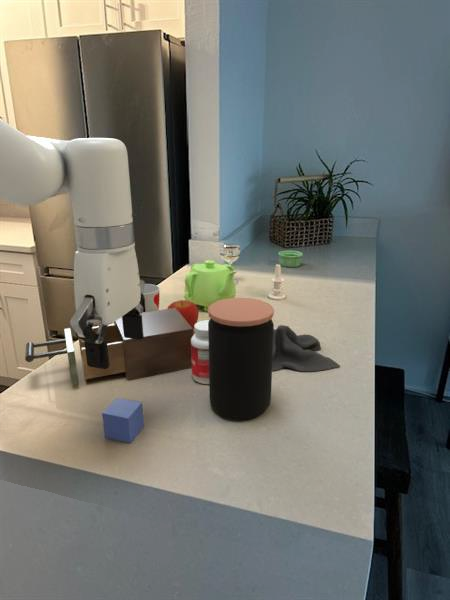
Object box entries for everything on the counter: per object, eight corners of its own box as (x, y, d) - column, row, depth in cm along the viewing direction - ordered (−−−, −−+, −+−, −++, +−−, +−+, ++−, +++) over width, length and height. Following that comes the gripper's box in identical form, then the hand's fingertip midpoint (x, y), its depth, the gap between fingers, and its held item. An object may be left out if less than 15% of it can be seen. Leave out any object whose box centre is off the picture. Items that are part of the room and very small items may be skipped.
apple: (165, 337, 101) (163, 306, 99) (169, 324, 109) (167, 295, 106) (197, 337, 101) (197, 306, 98) (200, 324, 108) (199, 295, 106)
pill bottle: (195, 368, 87) (194, 317, 84) (225, 370, 87) (225, 319, 83) (188, 384, 82) (186, 330, 78) (220, 386, 81) (220, 332, 77)
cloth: (226, 366, 88) (226, 339, 86) (246, 331, 105) (247, 307, 103) (339, 381, 82) (342, 352, 80) (341, 341, 99) (343, 316, 97)
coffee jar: (277, 394, 78) (281, 301, 72) (259, 428, 69) (262, 325, 63) (223, 383, 82) (222, 294, 76) (199, 414, 72) (196, 315, 66)
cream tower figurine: (285, 294, 130) (287, 260, 126) (286, 300, 125) (287, 265, 122) (268, 293, 131) (269, 260, 127) (268, 299, 126) (269, 265, 122)
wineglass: (216, 281, 143) (215, 245, 139) (233, 277, 146) (233, 243, 142) (227, 286, 137) (227, 249, 133) (244, 282, 141) (245, 246, 137)
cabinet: (127, 380, 83) (123, 340, 80) (117, 353, 94) (113, 316, 91) (194, 367, 88) (193, 328, 85) (177, 342, 99) (175, 307, 96)
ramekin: (291, 269, 156) (291, 257, 154) (273, 264, 162) (273, 253, 161) (307, 265, 161) (307, 253, 160) (288, 260, 168) (289, 249, 166)
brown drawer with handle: (29, 393, 77) (23, 359, 75) (30, 365, 87) (25, 334, 85) (139, 372, 84) (136, 340, 82) (128, 348, 94) (126, 319, 92)
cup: (140, 336, 102) (136, 296, 98) (122, 326, 107) (119, 288, 104) (168, 327, 107) (166, 289, 104) (150, 318, 113) (147, 281, 109)
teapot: (244, 298, 127) (245, 256, 123) (236, 315, 114) (237, 269, 110) (192, 294, 130) (191, 253, 126) (178, 311, 117) (176, 266, 113)
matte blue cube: (104, 437, 67) (101, 413, 65) (119, 421, 71) (117, 397, 69) (130, 443, 66) (128, 418, 64) (144, 426, 70) (142, 402, 68)
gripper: (115, 224, 66) (125, 326, 72) (37, 249, 51) (57, 376, 57) (159, 226, 64) (165, 331, 70) (92, 253, 49) (107, 385, 55)
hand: (117, 351), depth 63 cm, fingers open, 9 cm apart
